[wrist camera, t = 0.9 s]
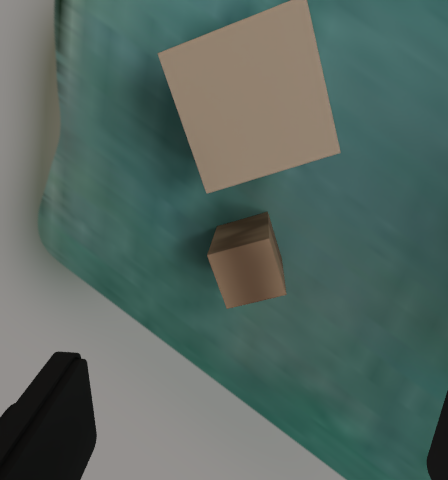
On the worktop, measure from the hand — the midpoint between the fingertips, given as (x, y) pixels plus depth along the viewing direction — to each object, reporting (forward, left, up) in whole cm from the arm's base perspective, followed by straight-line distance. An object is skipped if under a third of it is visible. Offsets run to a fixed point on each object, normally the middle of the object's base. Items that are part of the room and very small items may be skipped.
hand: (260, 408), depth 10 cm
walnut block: (+3, +5, -26) cm, 26 cm away
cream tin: (-1, -7, -26) cm, 27 cm away
